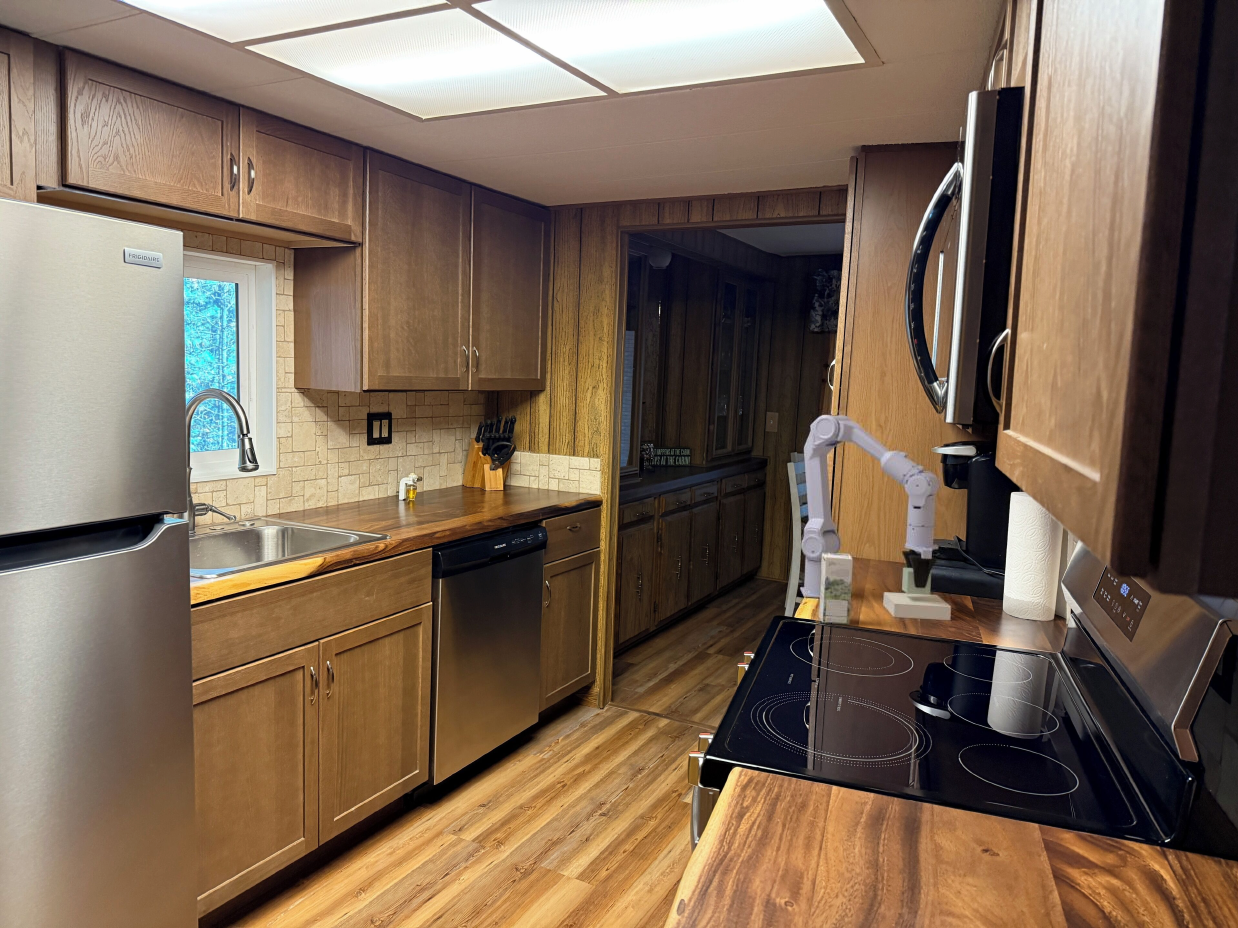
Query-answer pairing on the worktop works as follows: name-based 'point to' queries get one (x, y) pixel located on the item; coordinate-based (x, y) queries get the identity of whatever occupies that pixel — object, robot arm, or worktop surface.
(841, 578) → the syrup box
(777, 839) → the worktop surface
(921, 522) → the robot arm
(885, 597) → the base block
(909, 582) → the green cube
